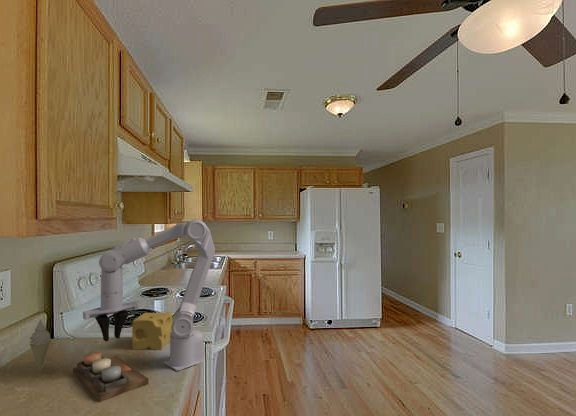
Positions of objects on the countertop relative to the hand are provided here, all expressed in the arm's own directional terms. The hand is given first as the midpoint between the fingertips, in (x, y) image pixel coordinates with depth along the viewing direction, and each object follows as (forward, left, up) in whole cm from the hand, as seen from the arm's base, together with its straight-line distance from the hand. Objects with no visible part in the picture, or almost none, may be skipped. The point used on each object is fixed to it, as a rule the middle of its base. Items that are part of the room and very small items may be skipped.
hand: (111, 339), depth 102 cm
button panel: (+2, +4, -9) cm, 10 cm away
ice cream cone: (+14, -16, -10) cm, 23 cm away
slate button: (+4, +11, -6) cm, 13 cm away
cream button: (+4, +4, -6) cm, 8 cm away
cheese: (-18, -12, -10) cm, 24 cm away
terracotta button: (+4, -3, -6) cm, 8 cm away
